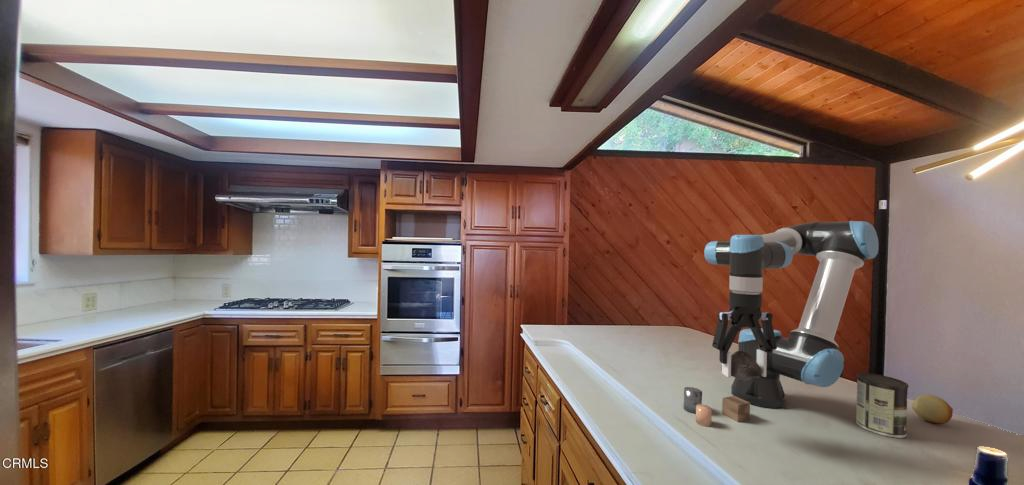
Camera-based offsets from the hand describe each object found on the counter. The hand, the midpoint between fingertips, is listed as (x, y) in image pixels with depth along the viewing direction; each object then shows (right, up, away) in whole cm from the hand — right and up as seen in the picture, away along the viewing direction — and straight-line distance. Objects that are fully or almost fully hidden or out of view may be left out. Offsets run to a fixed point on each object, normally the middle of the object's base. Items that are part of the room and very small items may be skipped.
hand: (743, 375), depth 98 cm
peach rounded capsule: (-8, -16, +6) cm, 19 cm away
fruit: (+62, -18, +10) cm, 66 cm away
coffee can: (+42, -17, +6) cm, 46 cm away
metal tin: (-7, -16, +14) cm, 22 cm away
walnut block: (+4, -16, +11) cm, 20 cm away
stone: (0, -1, 0) cm, 1 cm away
